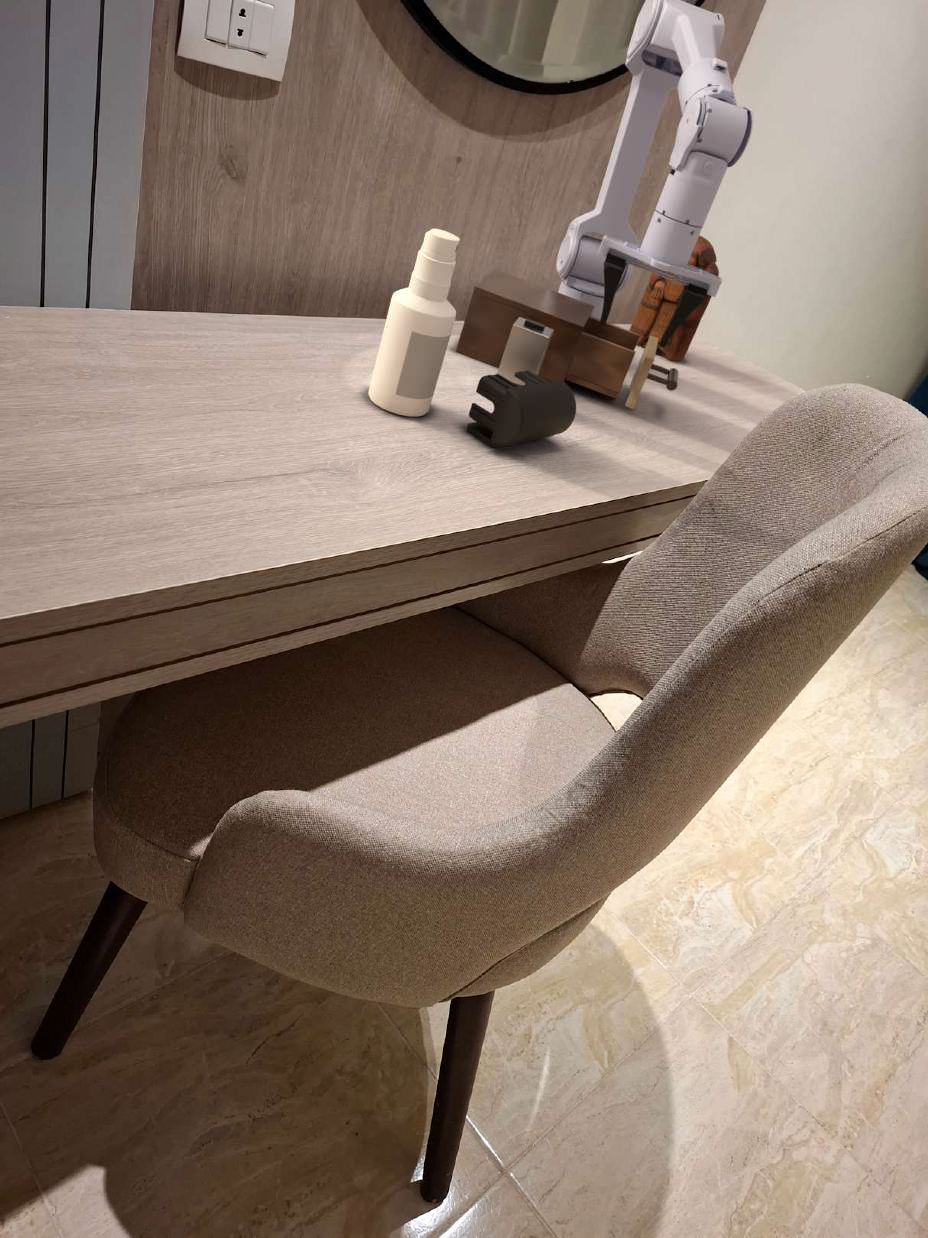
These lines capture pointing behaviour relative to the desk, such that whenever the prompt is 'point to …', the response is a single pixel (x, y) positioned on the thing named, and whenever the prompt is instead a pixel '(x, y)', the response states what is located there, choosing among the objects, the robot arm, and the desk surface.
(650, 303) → the wooden figurine
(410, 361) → the spray bottle
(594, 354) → the drawer
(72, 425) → the desk surface
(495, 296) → the cabinet
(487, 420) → the end cap
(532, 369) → the grey rectangular block
